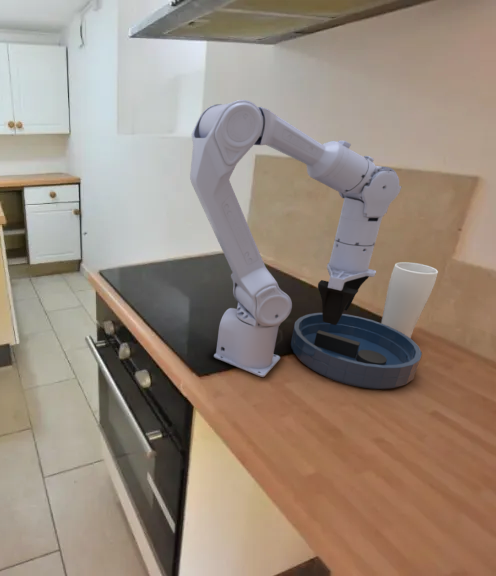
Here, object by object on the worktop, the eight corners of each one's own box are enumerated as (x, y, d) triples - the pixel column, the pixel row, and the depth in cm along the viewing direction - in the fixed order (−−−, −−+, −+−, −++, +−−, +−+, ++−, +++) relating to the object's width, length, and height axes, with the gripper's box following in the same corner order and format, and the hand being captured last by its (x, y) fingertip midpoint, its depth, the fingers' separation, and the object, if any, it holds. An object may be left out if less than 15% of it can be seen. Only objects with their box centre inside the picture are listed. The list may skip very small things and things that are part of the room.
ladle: (311, 348, 72) (314, 335, 71) (318, 339, 75) (321, 327, 74) (382, 372, 65) (387, 358, 64) (387, 361, 68) (391, 347, 67)
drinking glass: (401, 329, 80) (423, 262, 74) (422, 346, 74) (448, 274, 68) (367, 328, 81) (387, 261, 75) (385, 344, 75) (408, 273, 69)
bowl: (274, 359, 70) (278, 338, 68) (308, 322, 83) (312, 304, 81) (404, 407, 58) (413, 383, 56) (419, 355, 71) (427, 334, 69)
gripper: (374, 256, 55) (351, 338, 60) (390, 237, 65) (369, 308, 70) (321, 247, 59) (304, 324, 64) (344, 230, 69) (327, 298, 74)
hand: (335, 315), depth 68 cm, fingers open, 7 cm apart
